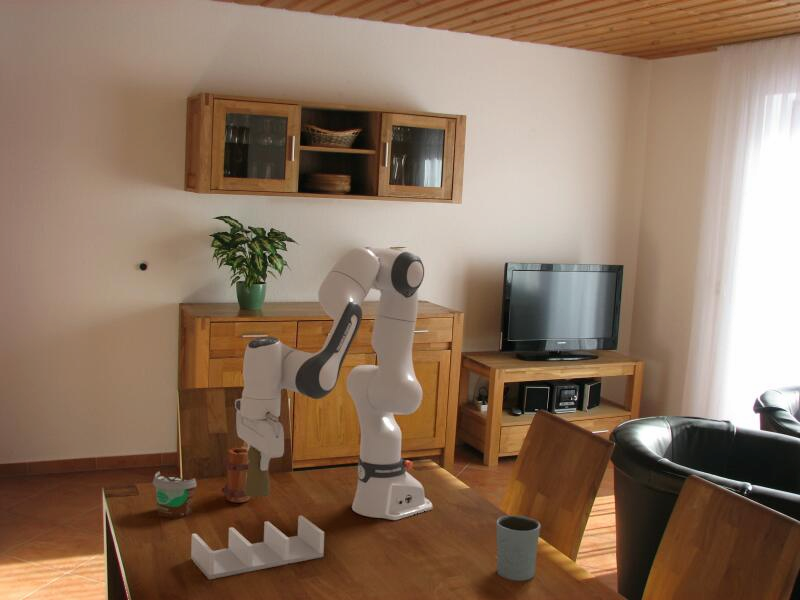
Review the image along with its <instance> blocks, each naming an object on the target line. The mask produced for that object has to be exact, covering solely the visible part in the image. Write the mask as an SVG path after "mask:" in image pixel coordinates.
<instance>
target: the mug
mask: <svg viewBox="0 0 800 600" xmlns="http://www.w3.org/2000/svg"><path fill="white" fill-rule="evenodd" d="M247 453H248V443H247V442H245V441H244V440H243V444H242V445H241V447H240V448H239V447H233V448H231V449H228V450H227V457H226V460H225V461H224V462H223V463H222V466H223V467H224V468H225V469H226V484H225V485H224V486H223V487H222V488H221V492H222V494H224V495H225V496H226V500H227V501H229V502H231V503H236V504H237V503H238V504H240V503H245V502H248V501H249V500H250V499H251V497H250V496H247V495H245V494H244V490H245V485H246V479H247V473H248V467H249V462H250V461H249V459H248V456H247Z"/></svg>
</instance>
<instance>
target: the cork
mask: <svg viewBox="0 0 800 600" xmlns="http://www.w3.org/2000/svg"><path fill="white" fill-rule="evenodd" d="M247 456H248V459H249V461H250V462H249V467H248V473H247V479H246V485H245V490H244V494H245V495H247V496H250V498H262V497H267V496H270V494H271V485H270V475H269V473H270V472H269V469H268V470H264V471H262V470H261V469H259V462H260V461H261V457H262V456H261V452H260V451H258V450H257V449H255V448H254V447H251V448H249V450H248V453H247Z"/></svg>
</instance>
